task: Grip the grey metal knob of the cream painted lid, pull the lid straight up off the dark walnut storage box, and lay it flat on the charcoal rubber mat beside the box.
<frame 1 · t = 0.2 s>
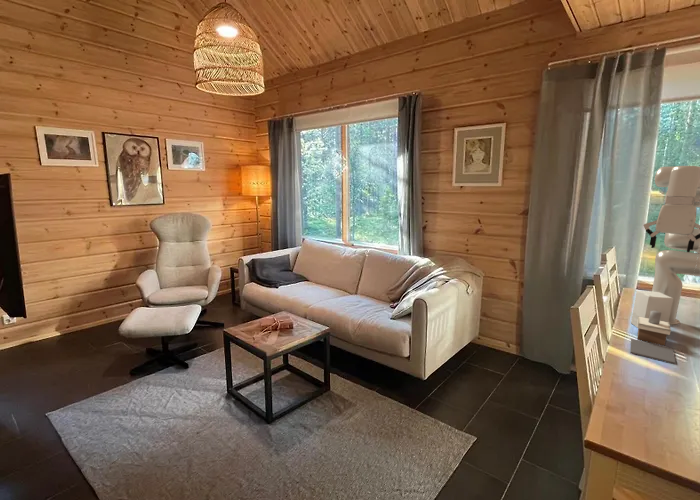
hand: (670, 249, 130), 36 cm above the table, tool pointing down, fingers open, 9 cm apart
storage box: (650, 339, 140), on the table
lid: (652, 327, 139), point 5 cm above the table, touching storage box
supplement box: (647, 328, 151), on the table
mat: (651, 351, 130), on the table
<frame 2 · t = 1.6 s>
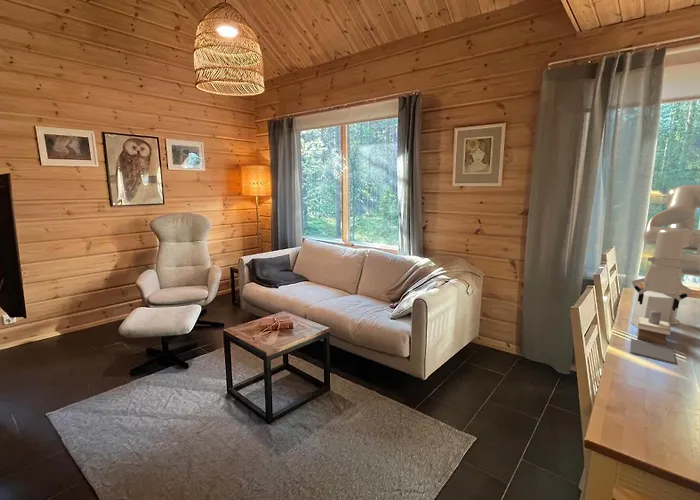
hand: (656, 306, 137), 14 cm above the table, tool pointing down, fingers open, 9 cm apart
nothing on the table moved.
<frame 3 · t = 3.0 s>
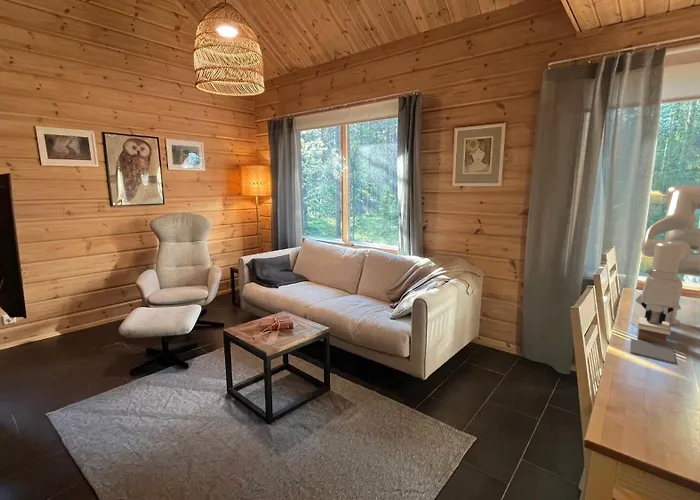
hand: (654, 321, 139), 8 cm above the table, tool pointing down, fingers closed on lid, 3 cm apart
lid: (652, 327, 139), point 5 cm above the table, touching gripper, storage box
everything else where it was.
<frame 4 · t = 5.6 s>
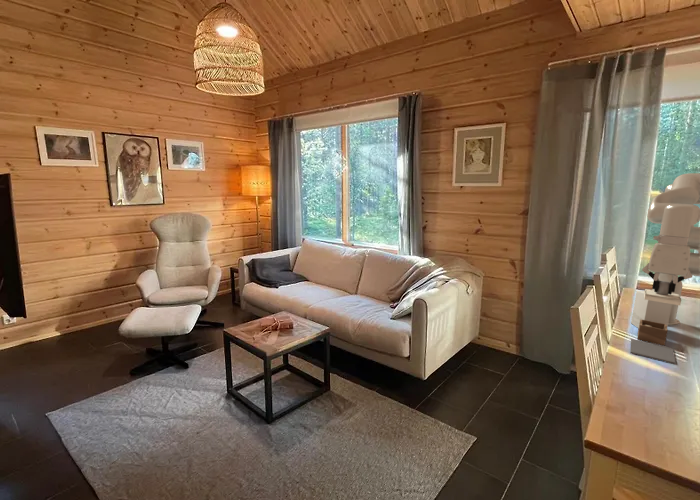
hand: (662, 292, 127), 22 cm above the table, tool pointing down, fingers closed on lid, 3 cm apart
lid: (661, 299, 127), point 19 cm above the table, touching gripper
everything else where it was.
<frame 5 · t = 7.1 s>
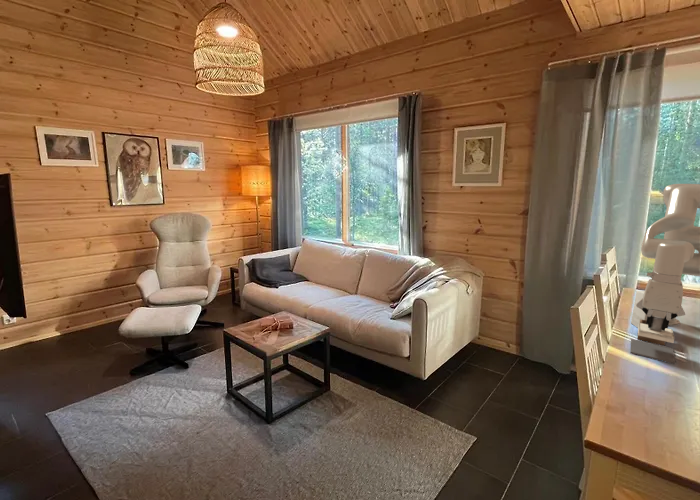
hand: (656, 327, 128), 9 cm above the table, tool pointing down, fingers closed on lid, 3 cm apart
lid: (654, 335, 128), point 6 cm above the table, touching gripper
everything else where it was.
when the fingers open (5 cm above the table, at t = 8.2 s): lid drops 1 cm, resting on mat.
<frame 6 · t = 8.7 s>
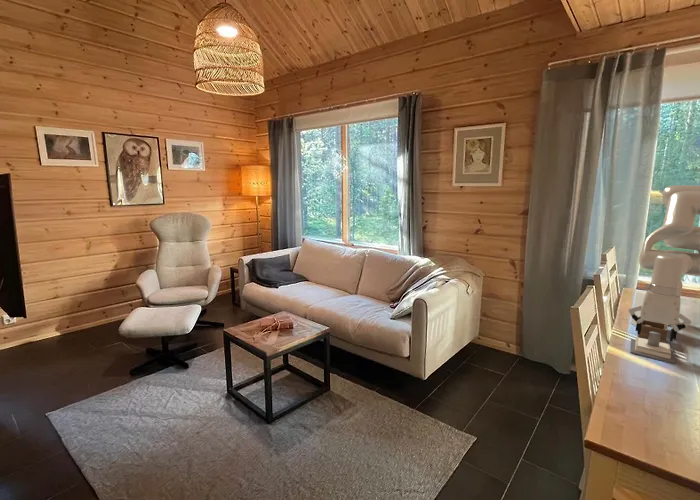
hand: (654, 336, 129), 6 cm above the table, tool pointing down, fingers open, 8 cm apart
lid: (652, 350, 130), point 1 cm above the table, touching mat
everything else where it was.
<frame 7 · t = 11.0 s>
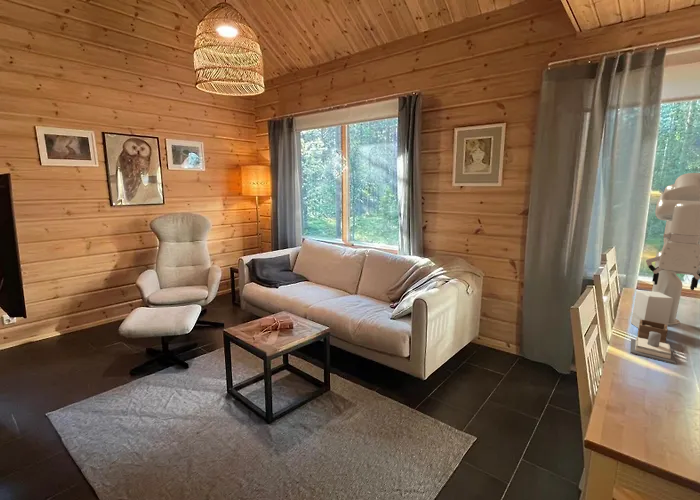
hand: (673, 286, 127), 24 cm above the table, tool pointing down, fingers open, 9 cm apart
nothing on the table moved.
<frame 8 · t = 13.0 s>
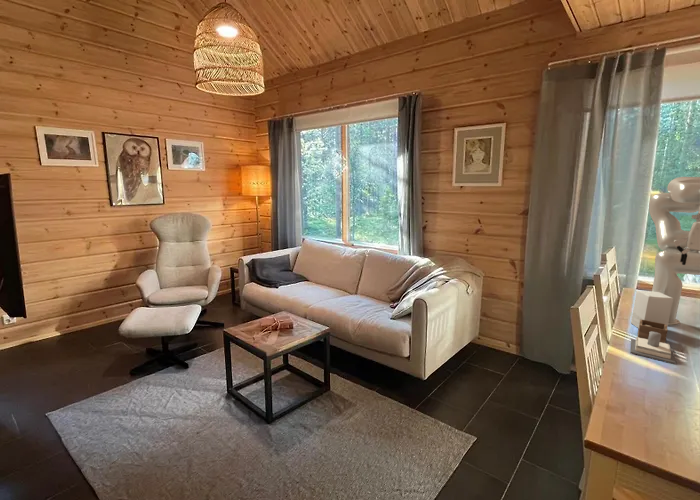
nothing on the table moved.
at the end: lid inside the target area on the mat (0.1 cm from its centre), point 0.6 cm above the mat's base; lid tilted 0°; lid touching mat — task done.
